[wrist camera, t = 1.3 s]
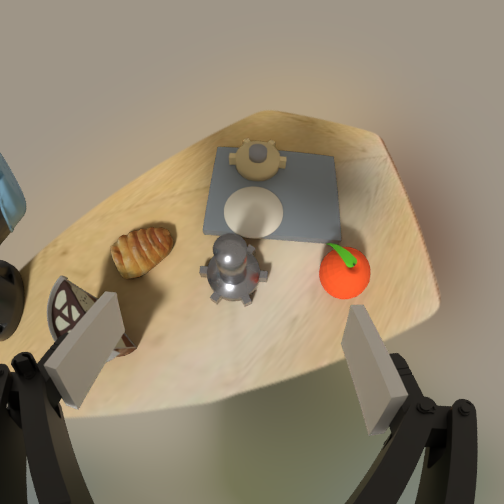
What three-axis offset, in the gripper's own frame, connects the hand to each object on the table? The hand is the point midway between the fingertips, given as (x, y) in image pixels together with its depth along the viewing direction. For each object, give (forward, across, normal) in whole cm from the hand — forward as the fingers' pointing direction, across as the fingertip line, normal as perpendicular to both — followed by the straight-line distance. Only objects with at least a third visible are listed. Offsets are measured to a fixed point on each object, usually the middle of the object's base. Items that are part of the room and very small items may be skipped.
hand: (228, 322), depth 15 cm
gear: (+23, -2, -9) cm, 24 cm away
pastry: (+24, -16, -7) cm, 30 cm away
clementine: (+23, +12, -9) cm, 28 cm away
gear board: (+32, +4, +1) cm, 33 cm away
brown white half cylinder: (+15, -20, -16) cm, 30 cm away
